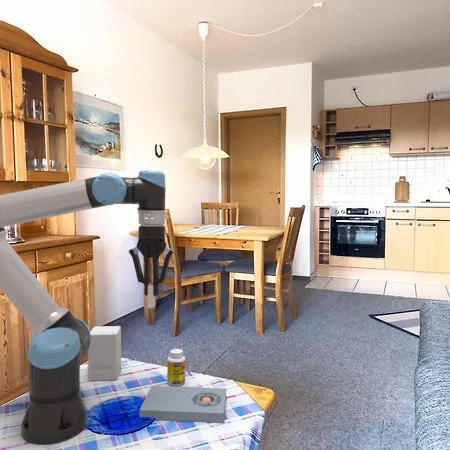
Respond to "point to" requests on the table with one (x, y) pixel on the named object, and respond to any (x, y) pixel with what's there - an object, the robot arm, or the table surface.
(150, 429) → the table surface
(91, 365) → the supplement box
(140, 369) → the table surface
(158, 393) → the plate
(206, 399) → the ball
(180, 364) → the supplement bottle
